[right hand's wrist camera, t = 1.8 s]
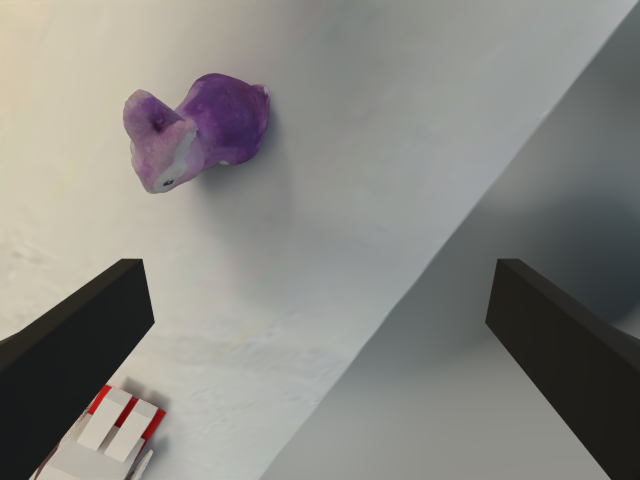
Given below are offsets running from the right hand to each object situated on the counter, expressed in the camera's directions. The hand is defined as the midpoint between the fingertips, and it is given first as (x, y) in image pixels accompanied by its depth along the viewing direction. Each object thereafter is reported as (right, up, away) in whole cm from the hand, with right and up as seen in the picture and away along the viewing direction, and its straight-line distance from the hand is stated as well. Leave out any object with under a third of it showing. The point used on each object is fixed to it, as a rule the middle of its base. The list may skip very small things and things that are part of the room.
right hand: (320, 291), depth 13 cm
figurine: (-10, +13, +23) cm, 28 cm away
